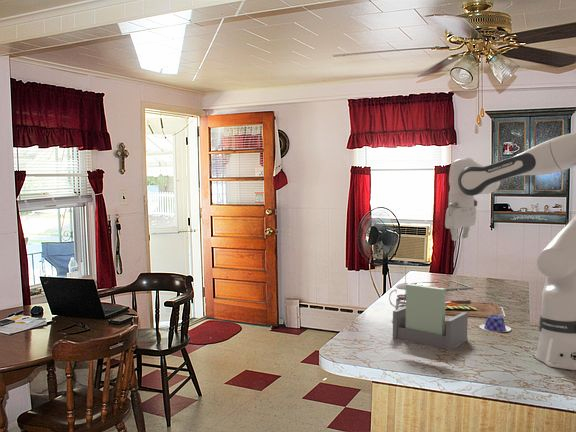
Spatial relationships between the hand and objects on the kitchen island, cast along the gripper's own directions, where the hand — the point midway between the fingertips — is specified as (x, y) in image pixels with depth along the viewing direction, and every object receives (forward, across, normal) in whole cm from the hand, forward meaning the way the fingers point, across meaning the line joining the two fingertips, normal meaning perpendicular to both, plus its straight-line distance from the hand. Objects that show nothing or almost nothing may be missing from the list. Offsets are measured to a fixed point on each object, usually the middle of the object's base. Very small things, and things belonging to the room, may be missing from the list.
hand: (460, 239), depth 205 cm
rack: (+37, -14, +5) cm, 40 cm away
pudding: (+38, +20, -7) cm, 43 cm away
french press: (+37, +11, +29) cm, 49 cm away
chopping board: (+38, +41, +20) cm, 59 cm away
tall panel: (+36, -18, +5) cm, 40 cm away
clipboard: (+38, +86, +44) cm, 104 cm away
